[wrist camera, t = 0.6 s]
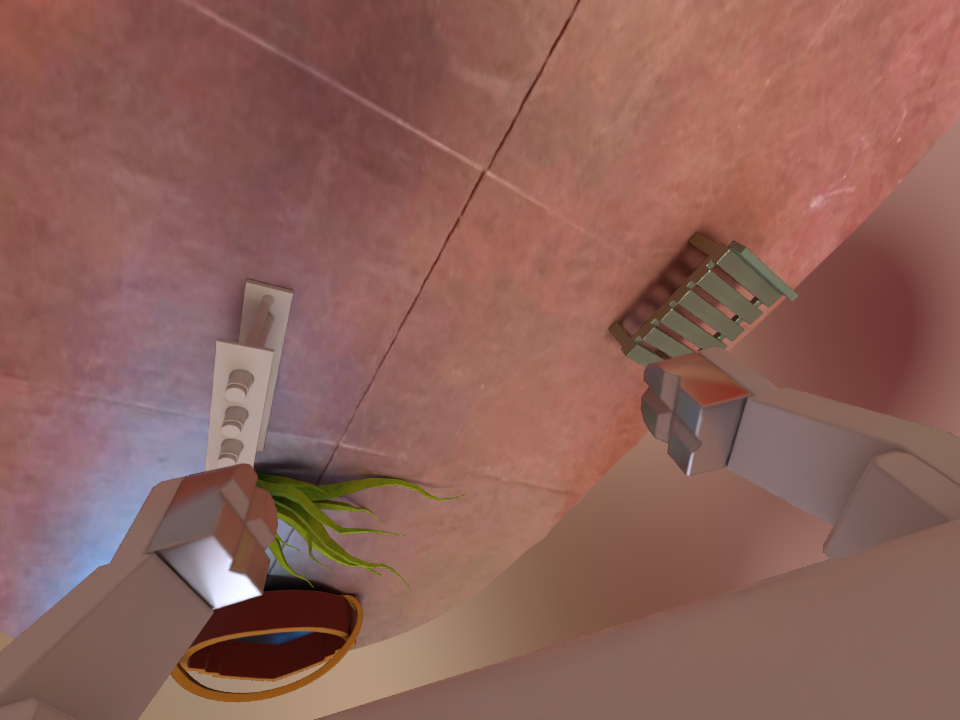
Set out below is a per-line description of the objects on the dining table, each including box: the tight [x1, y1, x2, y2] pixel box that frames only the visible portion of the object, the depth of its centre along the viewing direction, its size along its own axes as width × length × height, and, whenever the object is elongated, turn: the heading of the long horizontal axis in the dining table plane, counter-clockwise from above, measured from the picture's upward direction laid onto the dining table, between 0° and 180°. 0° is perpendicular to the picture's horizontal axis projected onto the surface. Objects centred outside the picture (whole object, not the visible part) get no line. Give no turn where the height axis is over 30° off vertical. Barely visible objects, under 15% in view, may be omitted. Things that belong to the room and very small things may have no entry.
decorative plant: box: [255, 471, 466, 589], centre depth 59 cm, size 18×30×15 cm, turn 42°
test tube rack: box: [205, 279, 294, 471], centre depth 44 cm, size 25×4×13 cm, turn 157°
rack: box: [609, 232, 798, 367], centre depth 52 cm, size 17×12×8 cm
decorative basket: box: [170, 590, 363, 702], centre depth 78 cm, size 34×29×15 cm
